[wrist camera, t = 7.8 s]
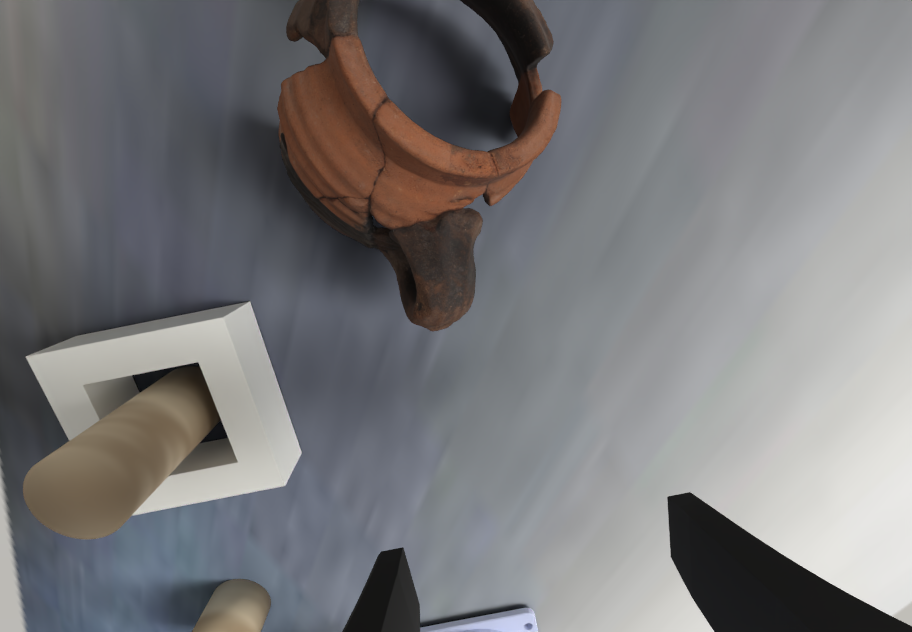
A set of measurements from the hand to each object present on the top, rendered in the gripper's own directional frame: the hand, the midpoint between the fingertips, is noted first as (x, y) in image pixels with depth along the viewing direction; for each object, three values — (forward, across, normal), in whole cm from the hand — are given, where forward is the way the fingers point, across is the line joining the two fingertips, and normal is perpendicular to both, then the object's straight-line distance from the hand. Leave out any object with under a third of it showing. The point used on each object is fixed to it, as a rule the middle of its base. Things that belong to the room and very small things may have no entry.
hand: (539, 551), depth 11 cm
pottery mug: (+10, +2, -11) cm, 15 cm away
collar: (+10, +14, -2) cm, 17 cm away
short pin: (+10, +16, +10) cm, 21 cm away
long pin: (+10, +14, -2) cm, 17 cm away
